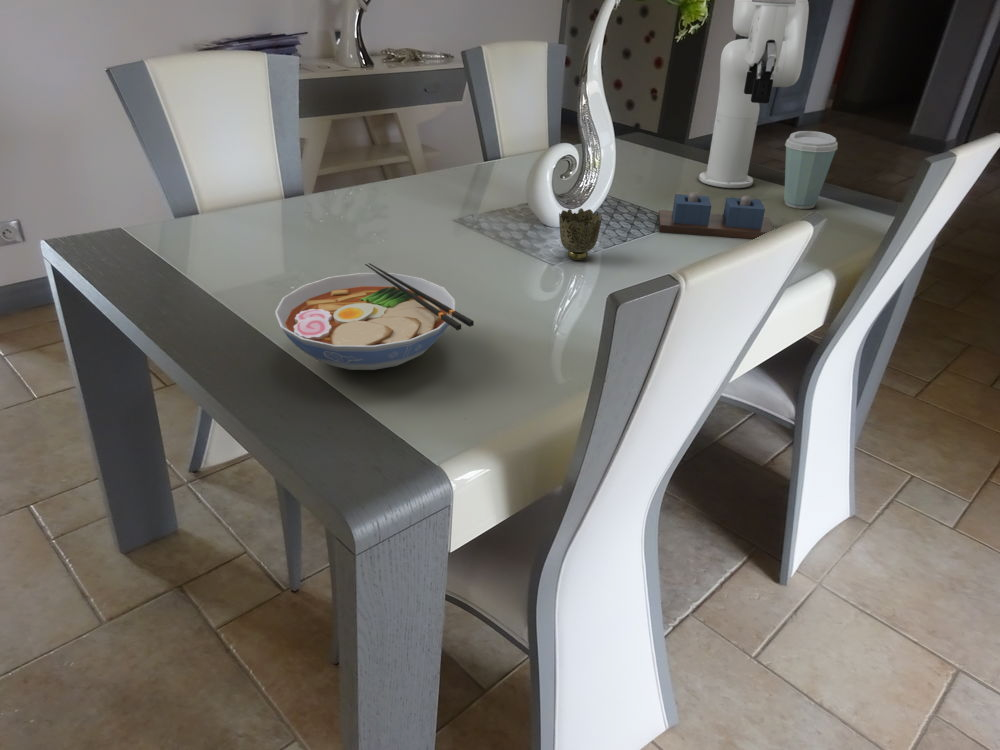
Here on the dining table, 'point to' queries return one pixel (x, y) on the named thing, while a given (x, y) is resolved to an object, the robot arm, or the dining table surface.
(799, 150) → the disposable coffee cup
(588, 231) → the cup
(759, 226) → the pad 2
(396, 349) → the ramen bowl
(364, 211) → the dining table surface
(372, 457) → the dining table surface
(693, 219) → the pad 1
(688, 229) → the wooden peg board
